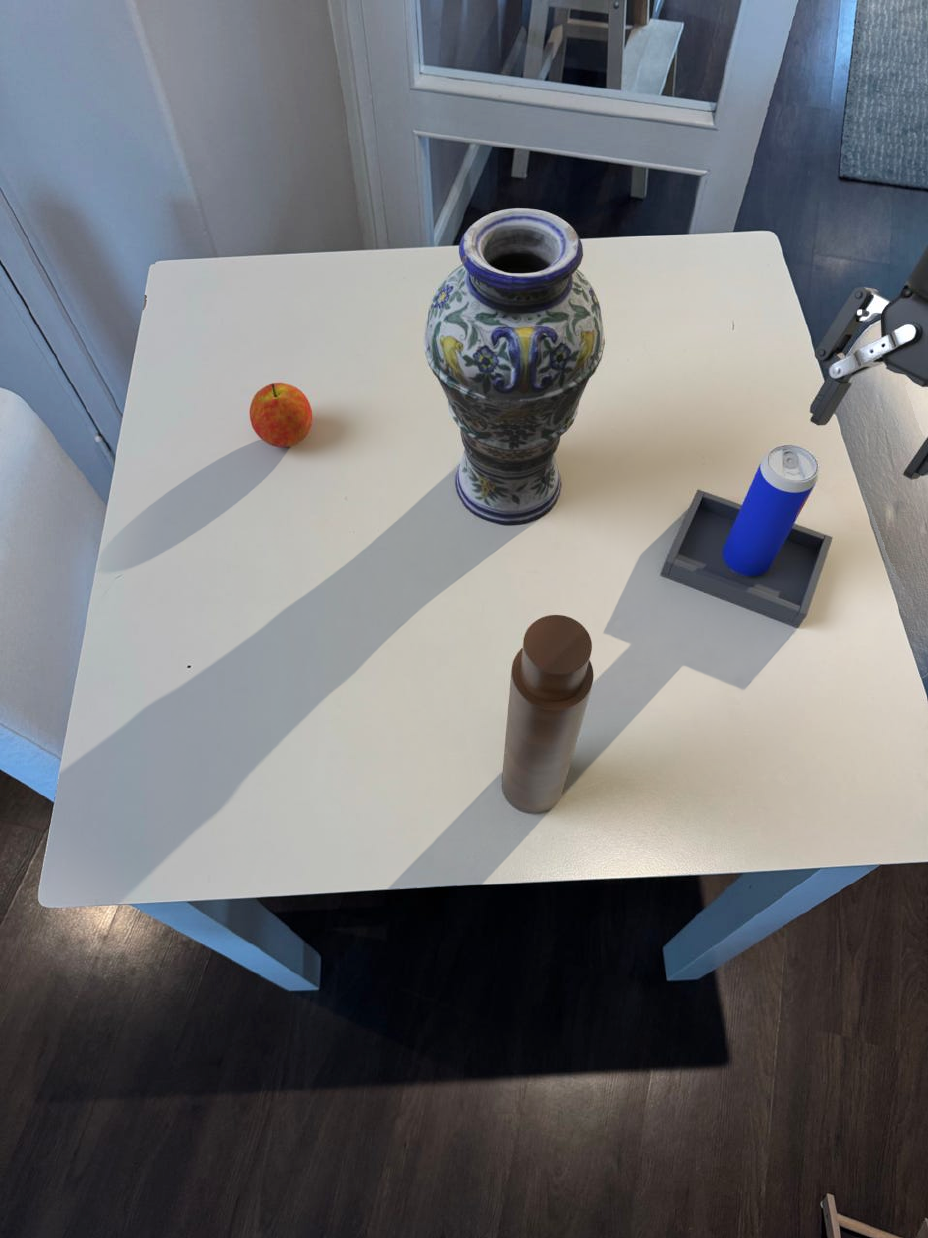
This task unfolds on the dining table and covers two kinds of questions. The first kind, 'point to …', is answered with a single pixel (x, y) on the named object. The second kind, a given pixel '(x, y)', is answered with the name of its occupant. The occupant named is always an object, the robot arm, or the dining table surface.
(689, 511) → the dark gray tray
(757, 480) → the beverage can
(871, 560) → the dining table surface
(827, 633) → the dining table surface
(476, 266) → the vase
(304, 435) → the fruit
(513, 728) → the bottle
